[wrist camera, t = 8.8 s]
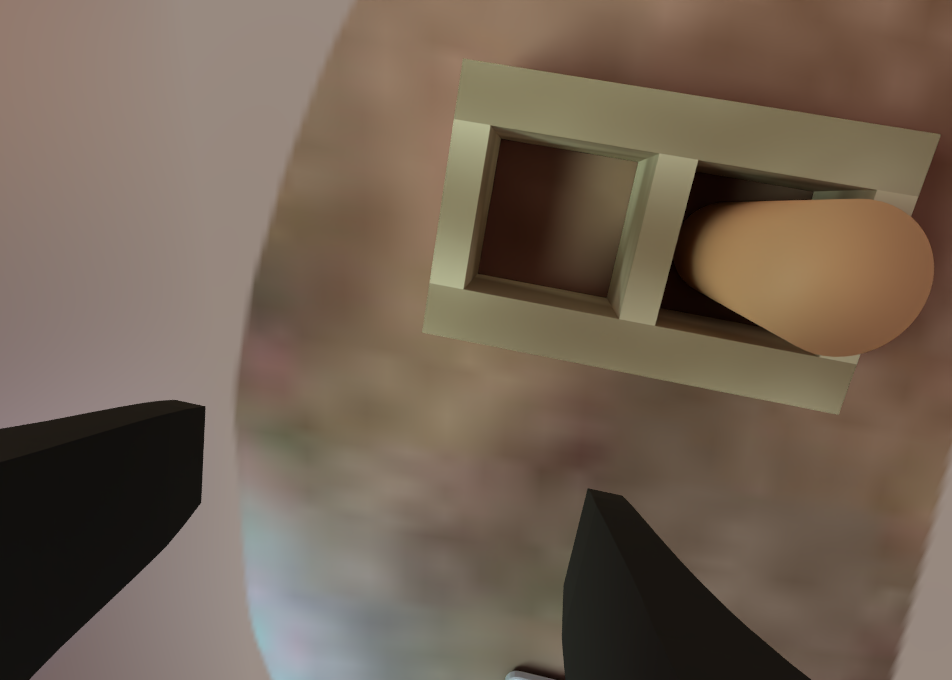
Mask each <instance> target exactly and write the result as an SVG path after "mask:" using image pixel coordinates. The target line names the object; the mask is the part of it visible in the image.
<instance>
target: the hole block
mask: <svg viewBox="0 0 952 680" xmlns="http://www.w3.org/2000/svg"><path fill="white" fill-rule="evenodd" d="M940 136H941V134H935V133H929V132H923V131H916V130H910V129H904V128H898V127H891V126H885V125H879V124H872V123H866V122H860V121H853V120H847V119H841V118H835V117H828V116H822V115H816V114H809V113H803V112H797V111H790V110H784V109H778V108H772V107H765V106H759V105H753V104H746V103H740V102H734V101H727V100H721V99H715V98H709V97H702V96H696V95H690V94H683V93H677V92H671V91H664V90H658V89H652V88H646V87H639V86H633V85H627V84H620V83H614V82H608V81H601V80H595V79H589V78H583V77H576V76H570V75H564V74H557V73H551V72H545V71H538V70H532V69H526V68H519V67H513V66H507V65H501V64H494V63H488V62H482V61H475V60H469V59H463V62H462V69H461V75H460V82H459V89H458V96H457V102H456V109H455V116H454V122H453V129H452V136H451V143H450V149H449V156H448V163H447V169H446V176H445V183H444V189H443V196H442V203H441V210H440V216H439V223H438V230H437V236H436V243H435V250H434V257H433V263H432V270H431V277H430V283H429V290H428V297H427V303H426V310H425V317H424V324H423V330H422V333H427V334H432V335H437V336H442V337H448V338H453V339H458V340H463V341H468V342H473V343H478V344H483V345H488V346H493V347H498V348H503V349H508V350H513V351H518V352H523V353H528V354H534V355H539V356H544V357H549V358H554V359H559V360H564V361H569V362H574V363H579V364H584V365H589V366H594V367H599V368H604V369H609V370H615V371H620V372H625V373H630V374H635V375H640V376H645V377H650V378H655V379H660V380H665V381H670V382H675V383H680V384H685V385H690V386H696V387H701V388H706V389H711V390H716V391H721V392H726V393H731V394H736V395H741V396H746V397H751V398H756V399H761V400H766V401H771V402H776V403H782V404H787V405H792V406H797V407H802V408H807V409H812V410H817V411H822V412H827V413H832V414H837V415H838V414H839V412H840V409H841V406H842V404H843V401H844V398H845V395H846V393H847V390H848V387H849V384H850V382H851V379H852V376H853V374H854V371H855V368H856V365H857V363H858V360H859V357H860V354H859V355H853V356H846V357H830V356H822V355H817V354H813V353H810V352H808V351H805V350H803V349H801V348H799V347H797V346H795V345H793V344H791V343H790V342H788V341H786V340H784V339H782V338H781V337H779V336H777V335H775V334H773V333H772V332H770V331H768V330H766V329H765V328H763V327H758V326H753V325H748V324H742V323H737V322H732V321H726V320H721V319H716V318H710V317H705V316H700V315H694V314H689V313H684V312H678V311H673V310H668V309H663V308H660V304H661V301H662V297H663V293H664V289H665V285H666V282H667V278H668V274H669V270H670V266H671V262H672V259H673V255H674V251H675V247H676V243H677V240H678V236H679V232H680V228H681V224H682V220H683V217H684V213H685V209H686V205H687V201H688V197H689V194H690V190H691V186H692V182H693V178H694V175H695V172H701V173H707V174H713V175H719V176H725V177H731V178H737V179H743V180H749V181H755V182H760V183H766V184H772V185H778V186H784V187H790V188H796V189H802V190H808V191H814V193H813V197H812V200H826V199H871V200H877V201H882V202H885V203H887V204H890V205H893V206H895V207H897V208H899V209H901V210H902V211H904V212H905V213H907V214H908V215H909V216H911V215H912V213H913V210H914V207H915V204H916V202H917V199H918V196H919V193H920V191H921V188H922V185H923V183H924V180H925V177H926V174H927V172H928V169H929V166H930V163H931V161H932V158H933V155H934V153H935V150H936V147H937V144H938V142H939V139H940ZM501 139H506V140H512V141H518V142H524V143H530V144H535V145H541V146H547V147H553V148H559V149H565V150H571V151H577V152H583V153H589V154H595V155H601V156H606V157H612V158H618V159H624V160H630V161H636V162H638V167H637V171H636V175H635V179H634V184H633V188H632V192H631V196H630V201H629V205H628V209H627V213H626V218H625V222H624V226H623V230H622V235H621V239H620V243H619V247H618V252H617V256H616V260H615V264H614V269H613V273H612V277H611V281H610V286H609V290H608V294H607V298H604V297H599V296H593V295H588V294H583V293H577V292H572V291H567V290H561V289H556V288H551V287H545V286H540V285H535V284H530V283H524V282H519V281H514V280H508V279H503V278H498V277H492V276H487V275H482V274H478V270H479V264H480V258H481V252H482V246H483V240H484V235H485V229H486V223H487V217H488V211H489V205H490V200H491V194H492V188H493V182H494V176H495V170H496V165H497V159H498V153H499V147H500V141H501Z"/></svg>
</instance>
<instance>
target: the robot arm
mask: <svg viewBox="0 0 952 680" xmlns="http://www.w3.org/2000/svg"><path fill="white" fill-rule="evenodd" d="M204 427H205V406H201V405H196V404H191V403H187V402H182V401H178V400H166V401H155V402H148V403H141V404H134V405H129V406H123V407H117V408H113V409H107V410H102V411H96V412H91V413H86V414H81V415H75V416H70V417H65V418H60V419H55V420H49V421H44V422H38V423H32V424H27V425H21V426H15V427H9V428H3V429H0V680H29V679H30V678H31V677H32V676H33V675H34V674H35V673H36V672H37V671H38V670H39V669H40V668H41V667H42V666H43V665H44V664H45V663H46V662H47V661H48V660H49V659H50V658H51V657H52V656H53V655H54V654H55V653H56V651H57V650H58V649H59V648H60V647H61V646H63V645H64V644H65V643H66V642H67V641H68V640H69V639H70V638H71V637H72V636H73V635H74V634H75V633H76V632H77V631H78V630H79V629H80V628H81V627H83V626H84V625H85V624H86V623H87V622H88V621H89V620H90V619H91V618H92V617H93V616H94V615H95V614H96V613H97V612H98V611H100V609H102V608H103V607H104V606H105V605H106V604H107V603H108V602H109V601H110V600H111V599H112V598H113V597H114V596H115V595H116V594H118V593H119V592H120V591H121V590H122V588H124V587H125V586H126V585H127V584H128V583H129V582H130V581H131V580H132V579H133V578H134V577H135V576H136V575H137V574H139V572H140V571H142V569H144V568H145V567H146V566H147V565H148V564H149V563H150V562H151V561H152V560H153V559H154V558H155V557H156V556H157V555H158V554H159V553H160V552H161V551H162V550H163V549H164V548H165V547H166V546H167V545H168V544H169V542H170V541H171V540H172V539H173V538H174V536H175V535H176V534H177V533H178V532H179V531H180V529H181V528H182V527H183V526H184V524H185V523H186V522H187V520H188V519H189V518H190V517H191V515H192V514H193V513H194V511H195V510H196V509H197V507H198V506H199V505H200V503H201V493H202V471H203V449H204ZM562 646H563V658H564V669H565V680H811V679H810V678H808V677H807V676H806V675H805V674H803V673H802V672H801V671H799V670H798V669H797V668H796V667H794V666H793V665H792V664H791V663H789V662H788V661H787V660H786V659H784V658H783V657H782V656H781V655H780V654H779V653H777V652H776V651H775V650H774V649H773V648H772V647H770V646H769V645H768V644H767V643H766V642H764V641H763V640H762V639H761V638H760V637H759V636H757V635H756V634H755V633H754V632H753V631H751V630H750V629H749V628H748V627H747V626H746V625H745V624H744V623H743V622H741V621H740V620H739V619H738V618H737V617H736V616H735V615H734V614H733V613H732V612H731V611H729V610H728V609H727V608H726V607H725V606H724V605H723V604H722V603H721V602H720V601H719V600H718V599H717V598H716V597H715V596H714V595H713V594H712V593H711V592H710V591H709V590H708V589H707V588H706V587H705V586H704V585H703V584H702V583H701V582H700V581H699V580H698V579H697V578H696V577H695V576H694V575H693V574H692V573H691V572H690V571H689V569H688V568H687V567H686V566H685V565H684V564H683V563H682V562H681V561H680V560H679V559H678V558H677V556H676V555H675V554H674V553H673V552H672V551H671V550H670V549H669V548H668V547H667V545H666V544H665V543H664V542H663V541H662V540H661V539H660V537H659V536H658V535H657V534H656V533H655V532H654V531H653V529H652V528H651V527H650V526H649V525H648V524H647V522H646V521H645V520H644V519H643V518H642V517H641V515H640V514H639V513H638V512H637V511H636V510H635V509H634V507H633V506H632V505H631V504H630V503H629V502H628V501H627V500H626V499H625V498H624V497H623V496H621V495H616V494H612V493H607V492H602V491H598V490H593V489H588V490H587V494H586V498H585V502H584V506H583V510H582V514H581V518H580V522H579V526H578V530H577V534H576V538H575V542H574V546H573V550H572V554H571V558H570V562H569V566H568V570H567V574H566V578H565V582H564V590H563V617H562ZM505 680H555V679H550V678H546V677H542V676H538V675H534V674H530V673H526V672H521V671H512V672H510V673H509V674H507V676H506V678H505Z"/></svg>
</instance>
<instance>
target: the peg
mask: <svg viewBox="0 0 952 680" xmlns="http://www.w3.org/2000/svg"><path fill="white" fill-rule="evenodd" d="M673 260H674V264H675V267H676V270H677V272H678V274H679V275H680V277H681V278H682V279H683V281H684V282H685V283H686V284H688V285H689V286H690V287H692V288H693V289H695V290H697V291H698V292H700V293H702V294H704V295H706V296H707V297H709V298H711V299H713V300H714V301H716V302H718V303H720V304H722V305H723V306H725V307H727V308H729V309H731V310H732V311H734V312H736V313H738V314H740V315H741V316H743V317H745V318H747V319H748V320H750V321H752V322H754V323H756V324H757V325H759V326H761V327H763V328H765V329H766V330H768V331H770V332H772V333H773V334H775V335H777V336H779V337H781V338H782V339H784V340H786V341H788V342H790V343H791V344H793V345H795V346H797V347H799V348H801V349H803V350H805V351H808V352H810V353H813V354H817V355H822V356H830V357H846V356H853V355H859V354H862V353H866V352H869V351H872V350H874V349H877V348H879V347H881V346H883V345H885V344H887V343H889V342H890V341H892V340H893V339H895V338H896V337H898V336H899V335H900V334H901V333H902V332H903V331H905V330H906V329H907V328H908V327H909V326H910V325H911V324H912V322H913V321H914V320H915V319H916V317H917V316H918V315H919V313H920V312H921V310H922V309H923V307H924V305H925V303H926V301H927V299H928V296H929V294H930V291H931V287H932V283H933V277H934V258H933V253H932V249H931V246H930V243H929V240H928V238H927V237H926V235H925V233H924V231H923V230H922V228H921V227H920V226H919V224H918V223H917V222H916V221H915V220H914V219H913V218H912V217H911V216H909V215H908V214H907V213H905V212H904V211H902V210H901V209H899V208H897V207H895V206H893V205H890V204H887V203H885V202H882V201H877V200H871V199H826V200H789V201H751V202H720V203H714V204H710V205H707V206H705V207H703V208H700V209H699V210H697V211H696V212H694V213H693V214H692V215H690V216H689V217H688V218H687V219H686V220H685V222H684V223H683V224H682V225H681V228H680V232H679V236H678V240H677V243H676V247H675V251H674V255H673Z"/></svg>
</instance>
